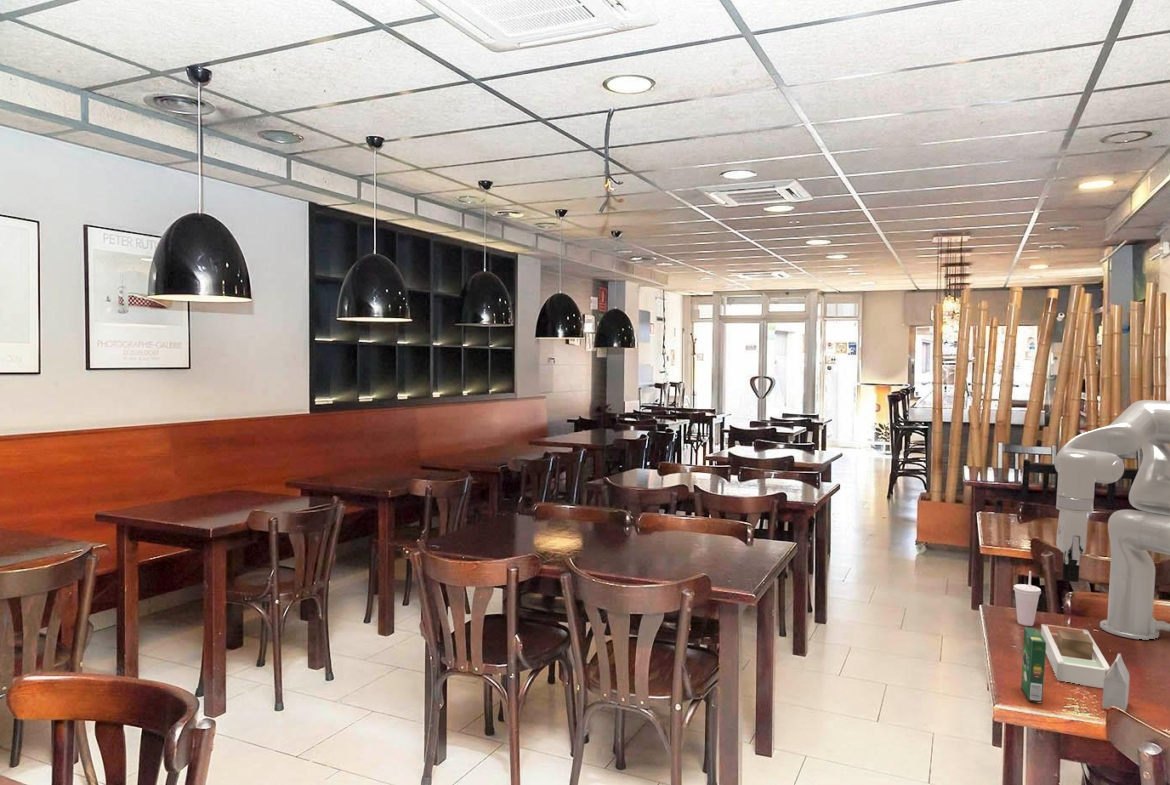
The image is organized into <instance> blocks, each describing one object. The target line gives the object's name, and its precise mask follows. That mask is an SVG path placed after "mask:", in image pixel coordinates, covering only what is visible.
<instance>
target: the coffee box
mask: <svg viewBox="0 0 1170 785" xmlns="http://www.w3.org/2000/svg"><path fill="white" fill-rule="evenodd" d="M1045 662H1046V641H1045V640H1044V638H1043V636H1042V635H1041V630H1039V628H1034V627H1028V626H1025V627H1024V628H1023V646H1022V663H1021V664H1022V666H1021V684H1020V686H1021V688H1022V691H1023V693H1024V695H1025V698H1026V697H1027V698H1026V699H1028V700H1027V702H1029V701H1034V702H1033V703H1035V702H1042V703H1043V695H1044V694H1043V693H1044V680H1045V666H1046V663H1045Z"/></svg>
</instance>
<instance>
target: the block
mask: <svg viewBox="0 0 1170 785" xmlns="http://www.w3.org/2000/svg"><path fill="white" fill-rule="evenodd" d="M1057 648H1058V650H1059V652H1060V654H1061V656H1067V657H1074V658H1081V659H1087V660H1092V652H1093V642H1092V640H1091V638H1090V637H1089V635H1088V634H1083V633H1076V632H1068V631H1061V630H1058V640H1057Z"/></svg>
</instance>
